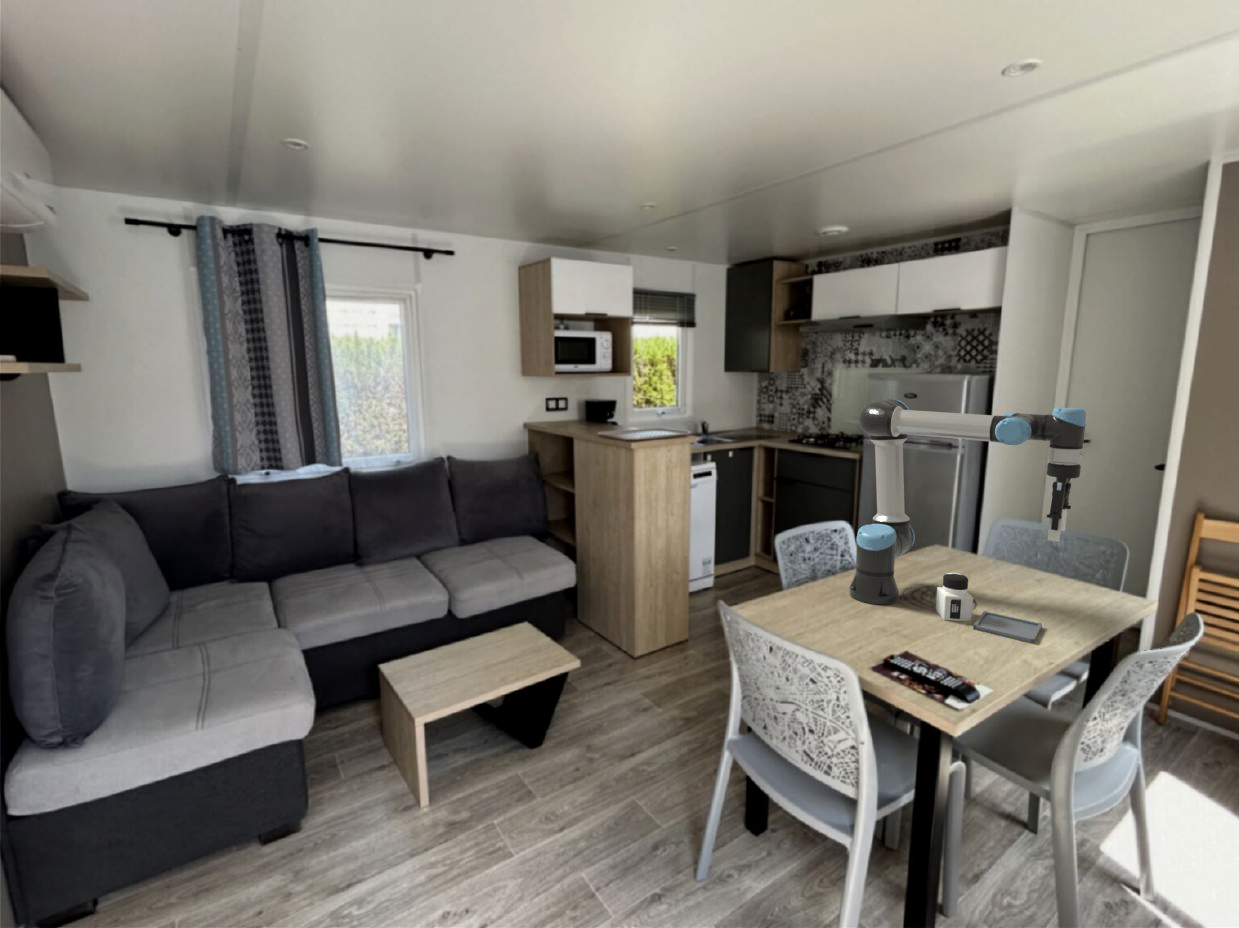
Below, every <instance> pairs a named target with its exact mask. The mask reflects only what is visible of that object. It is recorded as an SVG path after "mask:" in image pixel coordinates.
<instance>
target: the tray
mask: <svg viewBox="0 0 1239 928" xmlns="http://www.w3.org/2000/svg"><path fill="white" fill-rule="evenodd" d="M1042 627H1043V623H1040V622H1037V621H1031V620H1027V619H1022V618H1017V617H1014V616H1008V615H1005V614H999V613H994V612H991V611H986V610H983V611H982V613H981V615H980V616H979V617H978V619H977V620H976V621H975V622H974V624H973V627H972V629H973V630H975V631H978V632H983V633H987V634H991V635H996V636H1000V637H1004V638H1008V639H1013V640H1016V641H1021V642H1024V643H1028V644H1032V645H1035V642H1036V640H1037V638H1038V636H1039V635H1040V633H1041V630H1042Z"/></svg>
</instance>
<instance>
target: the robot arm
mask: <svg viewBox="0 0 1239 928" xmlns="http://www.w3.org/2000/svg"><path fill="white" fill-rule="evenodd" d="M1086 416H1087V413H1086V411H1085V409H1083V408H1079V407H1078V408H1077V407H1055V408H1053V410H1052V413H1050V414H1037V413H1019V412H1015V413H1005V414H1003V415H991V414H990V415H989V414H977V413H976V414H973V413H962V412H961V413H959V412H944V411H943V412H942V411H932V410H931V411H927V410H915V409H914V410H912V409H910V407H908V405H907V404H906V403H905V402H903V401H901V400H899V399H890V398H887V399H881V400H874V401H870V402H869V403H866V405H864V406H863V407H862V409H861V410H860V412H859V415H858V423H859V426H860V428H861V430H862V431H863V432H864V433H866V434H868V435H869V441H870V442H871V443H873V445H874V450H875V451H874V452H875V453H874V456H875V457H874V458H875V481H876V483H875V484H876V485H875V486H876V488H875V489H876V509H877V510H876V511H877V512H876V514H875V515H874V516H873V517H872V523H870V524H864V525H863V526H861V527H860V528H859V529H858V531H857V534H856V535H857V536H856V537H855V538H856V556H855V558H856V560H855V562H856V563H855V572H854V576H853V578H852V581H851V582H850V585H849V593H850V594H849V596H850V597H852V598H853V599H855V600H857V601H859V600H860V602H862V603H866V604H867V603H868V604H873V605H891V604H895V603H896V602H898V601H899V600H900V597H899V596H900V591H899V588H898V585H897V582H896V579H895V578H896V577H895V563H896V559H898V557H901V556H902V555H904V554H907V553H908V552H909V551H910V549H911V548H912V547H913V546H914V544H915V538H916V536H915V531H914V529H913V527H912V526H911V519H910V517H909V516H908V515H907V514H906V513H905V483H904V481H905V480H904V447H903V445H904V443H905V442H906V441H907V440H908V435H910V436H922V437H933V438H934V437H935V438H944V439H945V438H946V439H954V440H955V439H956V440H968V441H979V442H991V443H998V444H999V443H1000V444H1003V445H1008V446H1017V445H1021V444H1023V443H1024V442H1026V441H1042V442H1043V441H1044V442H1047V441H1049V446H1048V454H1047V460H1048V461H1049V462H1048V463H1047V465H1046V466H1047V467H1046V475H1047V476H1048V477H1050V478H1051V477H1052V478H1056V480H1055V481H1053V482H1052V485H1051V487H1052V491H1051V492H1052V493H1051V496H1052V497H1051V504H1050V508H1049V510H1050V511H1049V514H1046V518H1047V519H1048V518H1049V519H1048V520H1049V521H1048V530H1047V541H1049V542H1050V541H1051V542H1057V543H1060V542H1061V541H1060V540H1061V533H1062V532H1066V526H1067V519H1068V518H1067V515H1068V510H1071V507H1072V506H1071V505H1070V502H1069V499H1070V492H1071V488H1072V482H1071V479H1078V478H1079V477H1080V476H1081V469H1082V465H1081V464H1080V463H1081V462H1082V456H1085V455H1086V453H1085V452H1083V448H1084V447H1083V446H1084V441H1085V439H1084V438H1085V433H1086V432H1085V431H1086V425H1087V424H1086V420H1087V419H1086Z"/></svg>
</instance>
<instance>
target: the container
mask: <svg viewBox="0 0 1239 928" xmlns="http://www.w3.org/2000/svg"><path fill="white" fill-rule="evenodd" d="M968 586H969V578H968V576H966V575H964V574H961V573H957V572H948V573H945V574H943V576H942V586H937V587H936V600H935V602H936V603H935V611H936V612H937V613H938V615H939V616H940V617H941V618H942V619H943V620H944V621H957V622H972V620H973V607H974V606H973V605H974V604H973V603H974V597H973V596H972V594H970V593H969V592H968V589H969V587H968Z"/></svg>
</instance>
